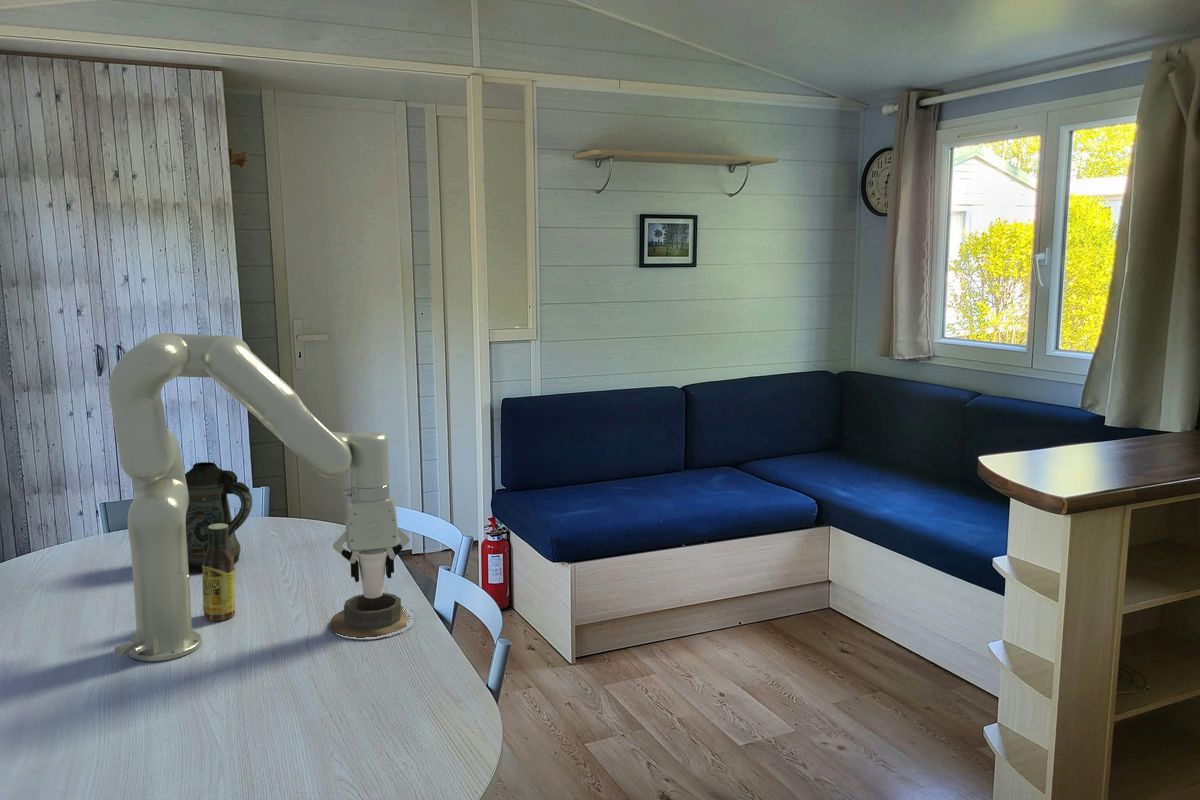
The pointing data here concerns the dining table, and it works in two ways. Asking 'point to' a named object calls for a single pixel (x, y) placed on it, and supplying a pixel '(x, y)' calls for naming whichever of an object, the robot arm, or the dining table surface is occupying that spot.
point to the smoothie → (372, 571)
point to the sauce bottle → (218, 575)
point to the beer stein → (212, 509)
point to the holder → (370, 616)
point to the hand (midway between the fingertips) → (372, 577)
